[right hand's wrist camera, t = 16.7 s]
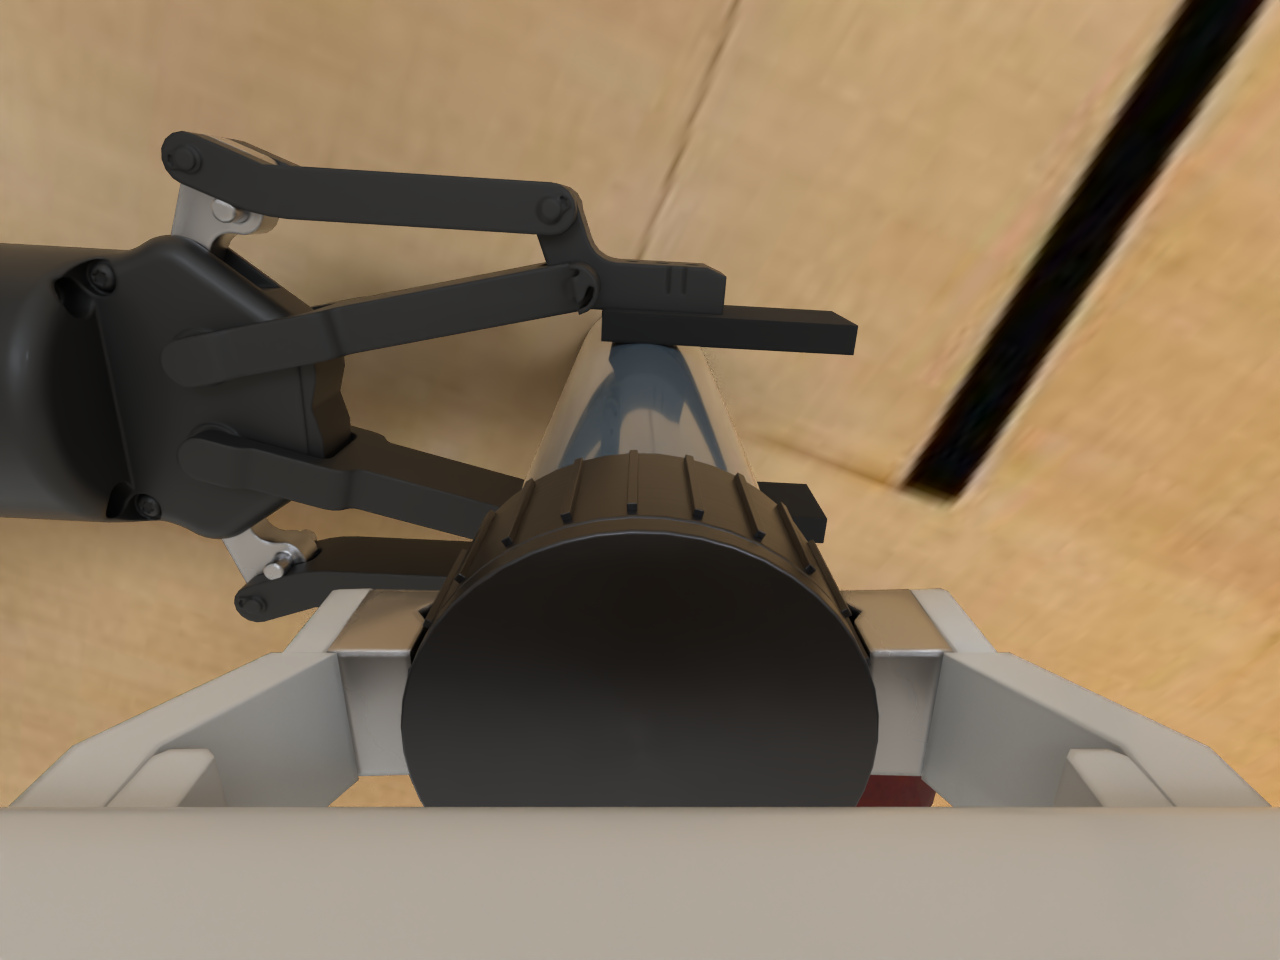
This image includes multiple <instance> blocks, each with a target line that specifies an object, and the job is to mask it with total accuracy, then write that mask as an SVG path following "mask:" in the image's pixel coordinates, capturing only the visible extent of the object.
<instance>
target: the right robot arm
mask: <svg viewBox="0 0 1280 960" xmlns="http://www.w3.org/2000/svg"><path fill="white" fill-rule="evenodd" d="M439 592H440V590H389V589H375V590H373V589H371V588H369V589H339V590H333V591H332V592H331V593H330V594H329V596H328V597H327V598H326V599H325V601H324V602H323V603H322V604H321V605H320V607H319V608H318V609H317V610H316V612H315V613H314V614H313V615H312V617H311V618H310V619H309V620H308V621H307V623H306V624H305V625H304V626H303V628H302V629H301V630H300V631H299V633H298V634H297V635H296V636H295V637H294V639H293V640H292V641H291V642H290V644H289V645H288V646H287V647H286V649H285V650H284V651H283V652H282V653H269V654H267V655H264V656H262V657H260V658H258V659H256V660H254V661H252V662H250V663H247V664H245V665H243V666H241V667H239V668H237V669H235V670H233V671H230V672H228V673H226V674H224V675H222V676H220V677H218V678H215V679H213V680H211V681H209V682H207V683H205V684H203V685H201V686H198V687H196V688H194V689H192V690H190V691H188V692H186V693H184V694H181V695H179V696H177V697H175V698H173V699H171V700H169V701H167V702H164V703H162V704H160V705H158V706H156V707H154V708H152V709H150V710H147V711H145V712H143V713H141V714H139V715H137V716H135V717H133V718H130V719H128V720H126V721H124V722H122V723H120V724H118V725H116V726H113V727H111V728H109V729H107V730H105V731H103V732H101V733H99V734H96V735H94V736H92V737H90V738H88V739H86V740H84V741H82V742H79V743H77V744H75V745H73V746H72V747H71V748H70V749H69V750H67V751H66V752H65V753H64V754H63V755H62V756H61V757H60V758H59V759H58V760H57V761H56V762H55V763H54V764H53V765H52V766H51V767H49V768H48V769H47V770H46V771H45V772H44V773H43V774H42V775H41V776H40V777H39V778H38V779H37V780H36V781H35V782H34V783H33V784H32V785H30V786H29V787H28V788H27V789H26V790H25V791H24V792H23V793H22V794H21V795H20V796H19V797H18V798H17V799H16V800H15V801H14V802H12V803H11V804H10V805H9V806H8V807H0V960H1280V807H1272V806H1271V805H1270V804H1269V803H1268V802H1267V801H1266V800H1265V799H1264V798H1263V797H1262V796H1260V795H1259V794H1258V793H1257V792H1256V791H1255V790H1254V789H1253V788H1252V787H1251V786H1250V785H1249V784H1248V783H1247V782H1246V781H1245V780H1244V779H1243V778H1242V777H1240V776H1239V775H1238V774H1237V773H1236V772H1235V771H1234V770H1233V769H1232V768H1231V767H1230V766H1229V765H1228V764H1227V763H1226V762H1225V761H1224V760H1223V759H1222V758H1221V757H1219V756H1218V755H1217V754H1216V753H1215V752H1214V751H1213V750H1212V749H1211V748H1210V747H1209V746H1206V745H1204V744H1202V743H1200V742H1198V741H1196V740H1194V739H1192V738H1189V737H1187V736H1185V735H1183V734H1181V733H1179V732H1177V731H1175V730H1173V729H1170V728H1168V727H1166V726H1164V725H1162V724H1160V723H1158V722H1156V721H1153V720H1151V719H1149V718H1147V717H1145V716H1143V715H1141V714H1139V713H1137V712H1134V711H1132V710H1130V709H1128V708H1126V707H1124V706H1122V705H1120V704H1117V703H1115V702H1113V701H1111V700H1109V699H1107V698H1105V697H1103V696H1100V695H1098V694H1096V693H1094V692H1092V691H1090V690H1088V689H1086V688H1084V687H1081V686H1079V685H1077V684H1075V683H1073V682H1071V681H1069V680H1067V679H1064V678H1062V677H1060V676H1058V675H1056V674H1054V673H1052V672H1050V671H1047V670H1045V669H1043V668H1041V667H1039V666H1037V665H1035V664H1033V663H1031V662H1028V661H1026V660H1024V659H1022V658H1020V657H1018V656H1016V655H1014V654H1011V653H998V652H997V651H996V650H995V649H994V647H993V646H992V645H991V644H990V642H989V641H988V640H987V639H986V637H985V636H984V635H983V634H982V633H981V631H980V630H979V629H978V628H977V626H976V625H975V624H974V623H973V621H972V620H971V619H970V618H969V617H968V615H967V614H966V613H965V612H964V610H963V609H962V608H961V607H960V606H959V604H958V603H957V602H956V601H955V599H954V598H953V597H952V596H951V594H950V593H949V592H948V591H946V590H944V589H941V588H936V589H913V590H909V589H895V590H854V591H840V592H841V594H842V596H843V598H844V600H845V602H846V604H847V606H848V608H849V610H850V612H851V614H852V615H851V616H849V619H850V621H851V623H852V625H853V627H854V629H855V631H856V633H857V635H858V637H859V639H860V641H861V643H862V645H863V647H864V649H865V651H866V653H867V655H868V657H869V660H870V665H869V669H870V673H871V676H872V679H873V682H874V686H875V689H876V696H877V704H878V711H879V731H878V744H877V749H876V755H875V760H874V765H873V769H872V771H871V774H870V775H899V776H922V778H921V779H922V780H923V781H924V782H925V783H926V784H928V785H929V786H930V787H931V788H932V789H933V790H934V791H936V792H937V793H938V794H939V795H940V796H941V797H943V798H944V799H945V800H946V801H947V802H948V803H950V804H951V805H952V806H953V807H327V806H329V805H330V804H331V803H332V802H333V801H334V800H336V799H337V798H338V797H339V796H340V795H341V794H342V793H344V792H345V791H346V790H347V789H348V788H349V787H351V786H352V785H353V784H354V783H355V782H356V781H358V776H381V775H409V772H408V768H407V764H406V761H405V757H404V753H403V745H402V735H401V709H402V698H403V694H404V689H405V685H406V681H407V675H408V669H409V668H411V665H412V663H413V661H414V658H415V656H416V653H417V651H418V648H419V646H420V644H421V642H422V641H423V639H424V637H425V635H426V633H427V631H428V629H429V628H426V627H424V626H422V624H423V622H424V620H425V618H426V616H427V615H428V613H429V611H430V609H431V607H432V605H433V603H434V601H435V599H436V597H437V595H438V593H439Z"/></svg>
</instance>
